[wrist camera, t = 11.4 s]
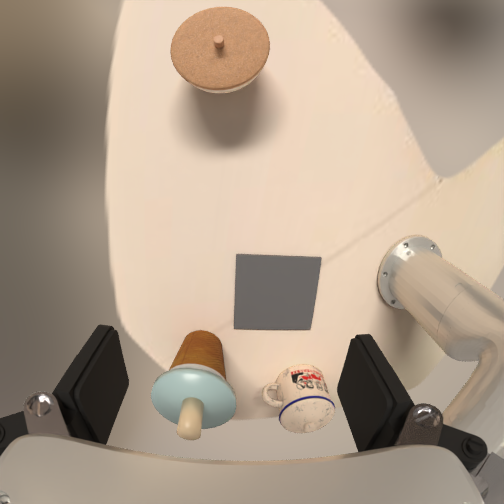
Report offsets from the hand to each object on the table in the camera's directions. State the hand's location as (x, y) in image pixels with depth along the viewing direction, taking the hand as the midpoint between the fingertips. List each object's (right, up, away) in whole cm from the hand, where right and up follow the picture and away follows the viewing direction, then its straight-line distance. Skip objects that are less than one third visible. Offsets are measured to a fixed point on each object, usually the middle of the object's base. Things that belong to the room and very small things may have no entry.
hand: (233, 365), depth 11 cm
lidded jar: (-3, +29, +22) cm, 37 cm away
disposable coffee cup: (-7, -11, +36) cm, 38 cm away
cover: (-7, -15, +24) cm, 29 cm away
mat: (+4, -2, +33) cm, 33 cm away
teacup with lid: (+8, -18, +39) cm, 44 cm away
